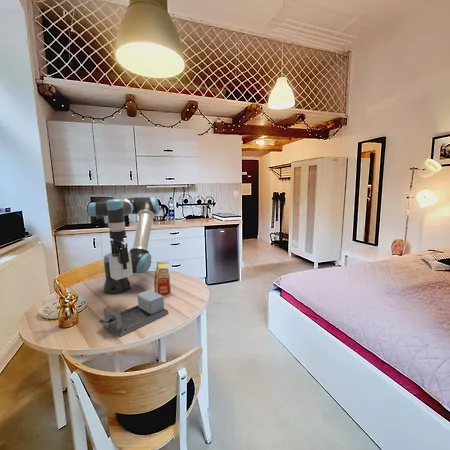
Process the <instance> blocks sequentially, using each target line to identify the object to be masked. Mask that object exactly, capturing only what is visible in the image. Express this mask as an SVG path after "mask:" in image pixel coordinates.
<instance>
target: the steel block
mask: <svg viewBox="0 0 450 450" xmlns="http://www.w3.org/2000/svg"><path fill="white" fill-rule="evenodd" d="M129 252H130V251H128V257H129V262H127V272H128V275H125V276H122V270H121V264H120V263H122V262H121V257H120V254H119V253H116V254H111V255H108V257H109V266H110V275H111V278H113V279H115V280H119V279H122V278H125V277H127V278H129V277H131V276H133V275H134V273H133V272H132V261H131V253H129Z"/></svg>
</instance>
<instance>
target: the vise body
mask: <svg viewBox="0 0 450 450" xmlns="http://www.w3.org/2000/svg"><path fill="white" fill-rule="evenodd" d="M168 314H169V310H168V309H167V308H164V310H161V311H159V312H157V313H155V314H153V315H151V314H149V313H148V312H146V311H144V310H142V309H141V308H139V307H138V304H137V305H135V306H131V307H129V308H128V309H125V310H123V311H120V312H117V311H116V310H114V309H113V308H111V307H110V306H106V307H103V315H104V319H103V318H99V319H98V323H99V324H103V325H104V326H105V328H106V329H109V330H111V331H112V332H113V333H114V334H116V335H117V336H119V337H121V338H122V337H123V336H125V335H127V334H130V333H131V332H133V331H135V330H137V329H140V328H142V327H145V325H147V324H150V323H152V322H153V321H156V320H159V319H160V318H162V317H164V316H166V315H168Z"/></svg>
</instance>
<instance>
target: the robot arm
mask: <svg viewBox="0 0 450 450" xmlns="http://www.w3.org/2000/svg"><path fill="white" fill-rule="evenodd" d="M87 213H88V215H90V216H91V217H107V219H108V220H107V221H108V225H107V226H108V229H109V230H108V231H109V238H110V242H109V243H110V251H111V252H108V253H107V254H105V255H104V256H103V265H104V267H103V268H104V272H105V273H104V276H105V281H104V285H103V292H104V294H107V295H117V294H122V293H125V292H127V291H128V290H130V289H131V282H130V281H129V279H128V278H129V277H125V278H122V279H119V280H115V279H113V278H111V275H110V266H109V257H108V255H111V254H116V253H119V254H120V257H121V262H122V263H120V264H121V270H122V276H125V275H128V272H127V262H129V257H128V252H129V253H131V261H132V272H133V274H145V273H147V272H148V271H149V270H150V269H151V268H150V267H151V265H152V255H151V254H150V251H149V250H148V247H149V240H150V235H151V229H152V224H153V219H155V217H156V215H159V214H160V204H159V200H158V198H157V197H156V196H155V197H153V196H145V197H138V196H137V197H130V198H124V199H119V198H118V199H116V198H115V199H107V200H106V201H102V202H101V201H100V202H99V201H97V202H96V201H94V202H90V203H88V204H87ZM130 214H131V215H137V216H138V217H139V218H138V221H137V226H136V232H135V236H134V241H133V247H132V248H130V249H129V250H128V243H127V242H126V243H125V239H124V238H126V237H127V234H126V233H127V232H126V230H125V229H126V221H125V217H126V216H130Z"/></svg>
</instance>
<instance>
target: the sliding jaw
mask: <svg viewBox="0 0 450 450" xmlns="http://www.w3.org/2000/svg"><path fill="white" fill-rule="evenodd" d="M137 305H138V307H139V308H141V309H142V310H144V311H146V312H148V313H149V314H151V315H153V314H155V313H157V312H159V311H161V310H164V309H165V301H164V297H163V296H162V295H160V294H158V293H156V292H155V291H154V290H152V289H148V290H145V291H143V292H140V293H138V294H137Z"/></svg>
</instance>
